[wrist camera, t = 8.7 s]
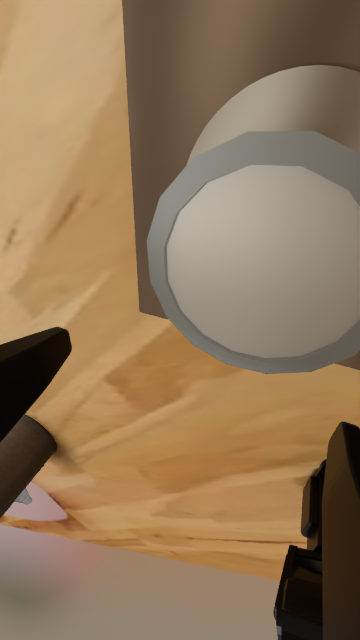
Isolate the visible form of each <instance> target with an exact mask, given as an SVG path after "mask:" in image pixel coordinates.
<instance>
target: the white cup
mask: <svg viewBox="0 0 360 640" xmlns="http://www.w3.org/2000/svg"><path fill="white" fill-rule="evenodd" d="M147 251H148V263H149V275H150V282H151V284H152V287H153V289H154V291H155V293H156V295H157V297H158V299H159V302H160V304H161V306H162V308H163V310H164V312H165V315H166V317H167V318H168V319H169V320H170V321H171V322H172V323H173V324H174V325H175V326H176V327H177V328H178V329H179V330H180V332H181V333H182V334H183V335H184V336H185V337H186V338H187V339H188V340H189V341H190V342H191V343H192V344H193V345H194V346H196V347H198V348H200V349H201V350H203V351H205V352H207V353H208V354H210V355H212V356H213V357H215V358H217V359H219V360H220V361H222V362H224V363H226V364H228V365H232V366H236V367H240V368H245V369H249V370H253V371H257V372H261V373H265V374H276V373H298V372H312V371H314V370H317V369H320V368H322V367H325V366H328V365H330V364H333V363H336V362H339V361H341V360H344V359H347V358H349V357H352V356H355V355H356V354H357V353H358V352H359V351H360V153H358V152H356V151H354V150H352V149H350V148H348V147H346V146H344V145H342V144H340V143H338V142H336V141H334V140H332V139H330V138H328V137H326V136H324V135H322V134H320V133H318V132H316V131H248V132H246V133H244V134H242V135H240V136H238V137H236V138H233V139H231V140H229V141H227V142H225V143H223V144H221V145H219V146H217V147H214V148H212V149H210V150H208V151H206V152H204V153H202V154H200V155H198V156H196V157H194V158H193V159H192V160H191V161H190V162H189V163H188V165H187V166H186V167H185V168H184V169H183V171H182V172H181V173H180V174H179V175H178V176H177V178H176V179H175V180H174V181H173V182H172V183H171V185H170V186H169V187H168V188H167V189H166V190H165V192H164V193H163V194H162V195H161V196H160V198H159V202H158V205H157V208H156V211H155V215H154V218H153V221H152V224H151V228H150V231H149V234H148V237H147Z"/></svg>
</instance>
